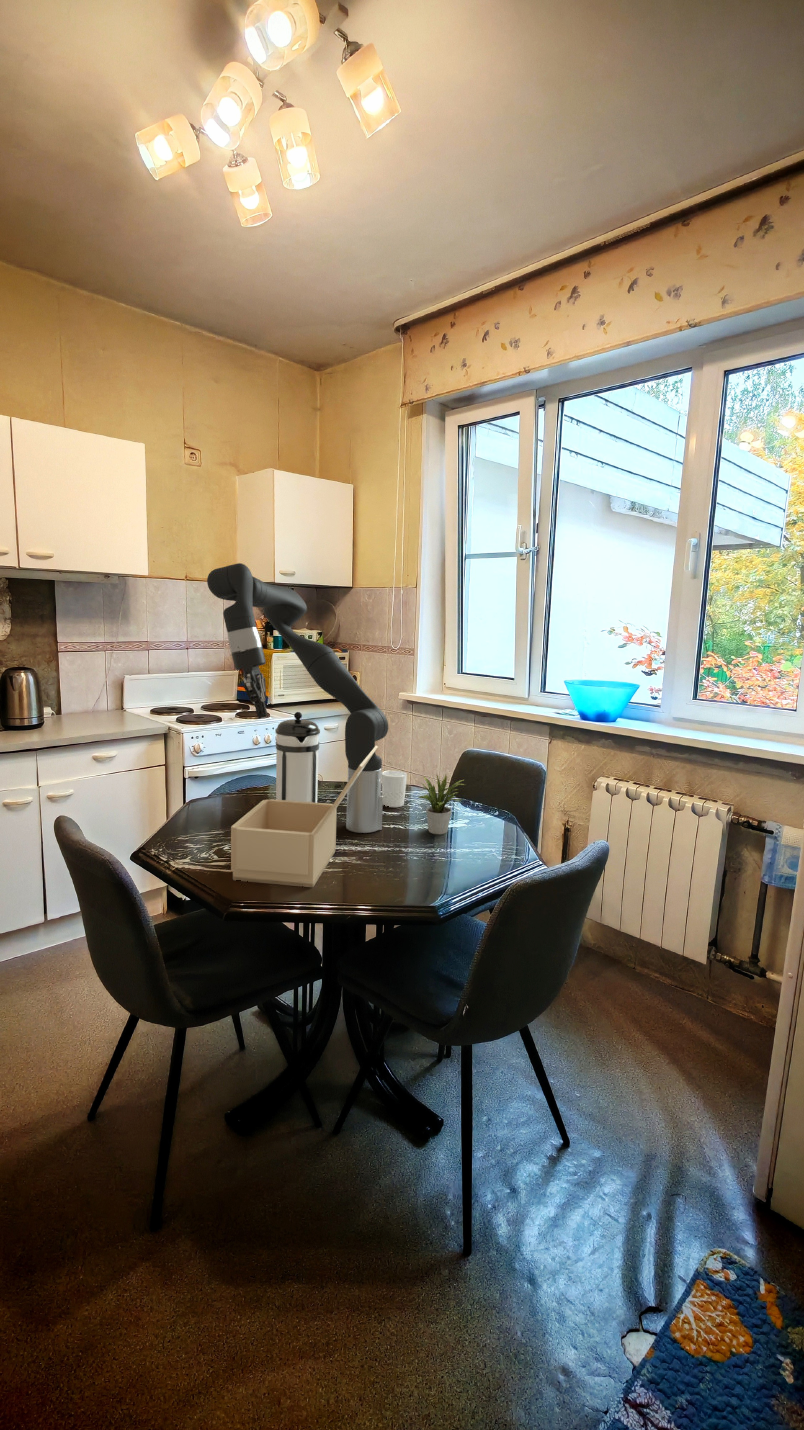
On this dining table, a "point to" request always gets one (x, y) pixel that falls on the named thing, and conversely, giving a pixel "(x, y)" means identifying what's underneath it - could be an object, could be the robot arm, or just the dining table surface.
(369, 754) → the lid flap
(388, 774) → the white cup
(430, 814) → the house plant
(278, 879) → the carton
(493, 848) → the dining table surface
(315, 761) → the coffee press
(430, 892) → the dining table surface
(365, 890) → the dining table surface
